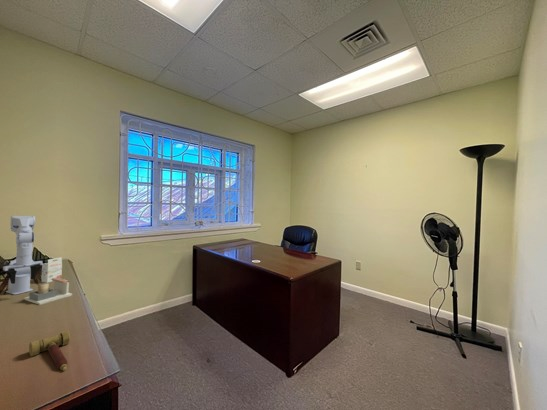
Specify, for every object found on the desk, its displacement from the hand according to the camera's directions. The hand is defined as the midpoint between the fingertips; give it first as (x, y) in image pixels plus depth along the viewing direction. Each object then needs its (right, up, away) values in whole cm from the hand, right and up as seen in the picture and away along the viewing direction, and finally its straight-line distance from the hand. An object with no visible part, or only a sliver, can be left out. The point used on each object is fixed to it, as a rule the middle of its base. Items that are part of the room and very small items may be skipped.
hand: (23, 281), depth 123 cm
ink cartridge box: (-13, -9, +29) cm, 33 cm away
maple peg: (+10, -9, +1) cm, 13 cm away
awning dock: (+10, -10, +3) cm, 15 cm away
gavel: (+58, -12, -44) cm, 74 cm away
